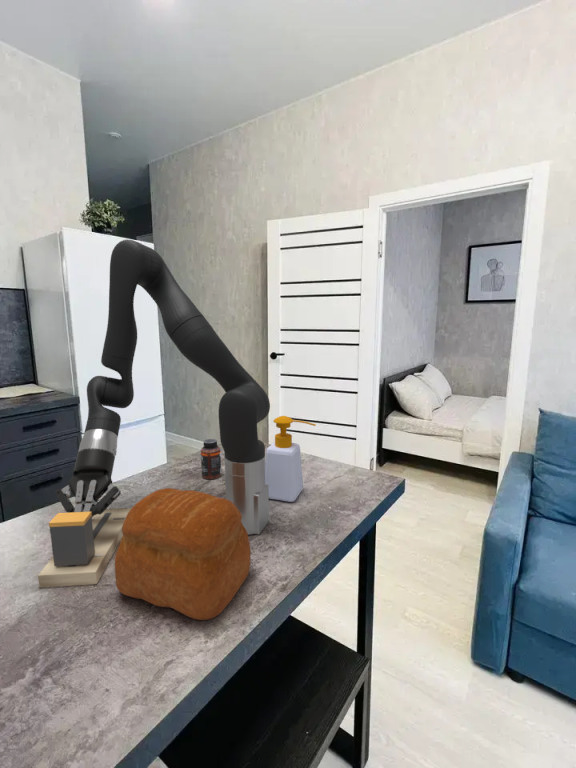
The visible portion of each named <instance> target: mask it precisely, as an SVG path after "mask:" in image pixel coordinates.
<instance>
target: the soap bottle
mask: <svg viewBox="0 0 576 768" xmlns="http://www.w3.org/2000/svg"><path fill="white" fill-rule="evenodd" d="M273 423H275V427H276V428H278V429H279V431H280V432H278V433H276V434H275V435H274V442H273V443H272V444H271V445H269V446H268V447H267V449H266V450H265V484H267V485H268V486H269V499H271V500H277V501H283V502H289V503H291V502H295V501H296V500H297V498H298V496H299V495H300V494H301V492H302V491H303V489H304V480H303V466H302V454H301V447H300V444H299V443H297V442H296V443H295V442H292V441H293V440H292V439H293V435H292V434H291V433H288V432H287V429H289V428H290V427H291V424H292V423H300V424H301V423H302V424H306V425H310V426H314V427H316V425H317V424H316V423H312V422H310V421H303V420H297V419H293V418H292V417H289V416H287V415H281V416H278V417H275V418H274V419H273Z"/></svg>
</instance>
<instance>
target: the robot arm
mask: <svg viewBox="0 0 576 768" xmlns="http://www.w3.org/2000/svg"><path fill="white" fill-rule="evenodd" d="M109 261H110V263H109V289H108V292H109V293H108V315H107V326H106V332H105V339H104V343H103V347H102V352H101V359H100V362H101V364H102V366H104V367H105V368H107V369H110V370H112V371H114V372H116V373H118V374H119V375H120V379H119V378H114V377H110V376H109V377H108V376H103V375H96V376H94V377H92V378H91V379H89V381H88V383H87V386H86V398H87V407H88V409H87V410H88V414H87V421H86V425H85V429H84V432H83V433H84V434H83V436H82V438H81V440H80V444H79V447H78V451H77V455H76V460H75V463H74V468H73V473H72V477H71V479H69V481H68V483H67V484H68V485H66V486H64V487H63V488H57V489H55V491H54V494H55V495H56V497H57V499H58V500H59V502H60V504H61V506H62V507H63V509H64V510H65V513H71V512H92V517H93V516H94V515H97V514H102V513H103V512H104V511H105V510H106V509H109V506H111V505H112V504H113V502H114V501H115V500H117V498H118V497H119V496H121V494H122V492H121V490H120V488H119V487H118V486H116V485H113V480H112V475H113V471H114V470H113V469H114V466H115V465H114V464H115V460H116V459H115V458H116V456H117V450H118V438H119V432H120V428H121V422H122V421H121V416H120V414H119V413H118V412H117V411H114V410H113V409H110V408H117V409H125V408H128V407H129V406H130V405H131V404H132V403H133V400H134V397H135V392H134V390H135V389H134V383H133V382H134V381H133V364H134V359H135V358H134V357H135V353H136V347H137V343H138V328H137V327H138V326H137V321H136V316H135V309H134V308H135V307H134V306H135V305H134V300H135V294H136V290H137V287H138V286H140V287H141V288H142V289H143V290H144V291H145V292H146V293H147V294H148V295H149V297H150V298H152V300H153V301H154V303H155V304H156V305H157V307H158V309H159V311H160V315H161V320H162V324H163V326H164V329H165V332H166V333H167V336H168V337H169V339H170V341H172V343H173V344H174V346H176V347H175V348H177V349H178V350H179V352H180V354H182V356H184V357H185V358H186V359H187V360H188V361H189V362H190V363H192V364H193V365H194V366H196V368H199V369H200V370H202V371H204V372H205V373H206V374H207V375H209V376H210V377H212V379H214V380H215V381H216V382H217V383H218V384H219V386H221V387H222V389H223V390H224V392H225V393H224V394H223V395H222V397H221V398H220V401H219V403H218V426H219V440H220V444H221V447H222V449H223V453H224V482H225V483H224V484H225V487H224V488H225V489H224V490H225V499H227V500H229V501H231V502H232V503H233V504H234V505H235V506H236V507H237V509H238V510H239V511H240V513H241V515H242V519H241V522H242V524H243V526H244V528H245V529H246V531H247V533H248V536H249V535H261V532H262V531H263V530H264V528H265V527H266V526H267V525H268V523H269V522H270V521H269V520H270V511H269V510H270V508H269V507H270V506H269V502H270V501H269V499H270V498H269V486H268V485H267V484H265V460H266V446H265V442H263V441H262V440H261V439H259V437H258V436H259V435H258V433H259V432H258V423H260V422H261V421H263V420H264V419H266V418H267V416H269V413H270V411H271V409H270V408H271V403H270V399H269V396H268V394H267V392H266V391H265V389H264V388H263V387H262V386H261V385H260V384H259V383H258V382H257V381H256V380H255V379H254V378H253V377H252V375H251V374H249V372H248V371H247V370H246V369H245V368H244V367H243V366H242V365H241V363H240V362H239V361H238V360H237V358H236V357H235V356H234V355H233V353H232V352H231V350H230V349H229V348H228V346H227V344H225V343H224V342H223V340H222V339H221V338H220V336H219V335H218V334H217V332H216V330H214V328H213V326H212V325H211V324H210V322H209V321H208V320H207V319H206V318H205V316H204V314H202V312H201V311H200V310H199V309H198V308H197V306H196V305H195V304H194V303H193V301H192V300H191V298H190V297H189V296H188V295H187V294H186V293H185V292H184V290H183V289H182V288H181V287H180V285H179V283H178V282H177V280H176V279H175V277H174V276H173V274H172V272H171V270H170V269H169V267H168V265H167V264H166V261H164V259H163V258H162V256H161V255H160V254H159V252H157V251H156V250H155V249H153V248H152V247H150V246H147V245H146V244H143V243H140V242H138V241H135V240H133V239H124V240H121V241H119V242H118V243H116V245H114V248H112V251H111V255H110V260H109ZM107 407H110V408H107ZM71 493H72V494H73V496H74V498H75V499H74V503H75V504H74V505H75V506H74V505H73V503H72V502H71V500H70V497H71ZM104 494H105V495H104ZM103 495H104V496H103ZM100 498H101V499H100ZM99 499H100V500H99Z"/></svg>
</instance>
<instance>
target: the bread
mask: <svg viewBox="0 0 576 768" xmlns="http://www.w3.org/2000/svg"><path fill="white" fill-rule="evenodd" d="M131 508H132V509H131V510H130V511H129V512H128V514H127V516H126V519H125V521H124V523H123V527H122V532H123V537H122V539H121V541H120V543H119V545H118V546H117V548H116V550H115V555H114V572H115V573H114V575H115V577H114V578H115V585H116V588H117V590H118V591H119V592H120V593H121V594H123V595H125V596H127V597H130V598H132V599H133V598H134V599H140V600H144V601H146V602H147V603H150V604H152V605H154V606H156V607H162V608H172V609H173V610H175V611H177V612H178V613H181V614H182V615H184V616H187V617H189V618H191V619H192V620H198V621H199V620H200V621H205V620H211V619H213V618H215V617H217V616H219V615H220V614H221V613H223V611H224V610H225V608H226V607H227V606H228V605H229V603H230V602H231V601H232V600H233V598H234V597H235V595H236V593H237V592H238V591H239V589H240V588H241V586H243V585H242V584H243V583H244V582H245V581H246V578H247V577H248V576H249V572H250V567H251V554H252V553H251V544H250V538H249V535H248V533H247V531H246V529H245V528H244V526H243V524H242V522H241V519H242V515H241V513H240V511H239V510H238V509H237V507H236V506H235V505H234V504H233V503H232V502H231V501H229V500H227V499H226V498H222V497H217V496H215V495H212V494H209V493H207V492H202V491H197V490H191V489H188V490H180V489H177V488H171V487H166V488H161V489H159V490H155V491H153V492H151V493H150V494H147V495H145V497H143V498H141V500H139V501H137V502H136V503H135V504H134V505H133V506H132V507H131Z"/></svg>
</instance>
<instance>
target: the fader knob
mask: <svg viewBox="0 0 576 768" xmlns="http://www.w3.org/2000/svg"><path fill="white" fill-rule="evenodd" d="M48 527H49V531H50V533H49V534H50V541H51V549H52V557H53V559H54V566H67V565H84V564H89V562H90V560H91V559H92V557H93V556H94V554H95V547H94V536H93V526H92V512H71V513H67V512H57V514H56V515H55V516H54V517H53V518H52V519H51V520H50V521H49V522H48Z"/></svg>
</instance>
